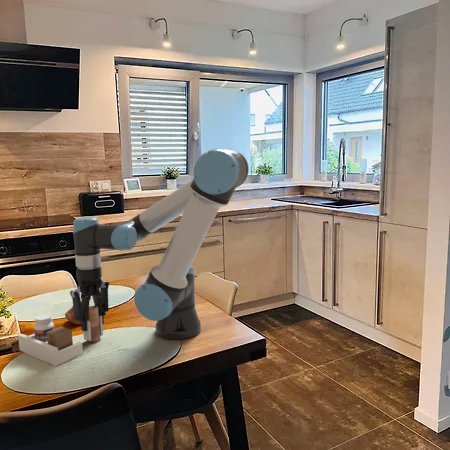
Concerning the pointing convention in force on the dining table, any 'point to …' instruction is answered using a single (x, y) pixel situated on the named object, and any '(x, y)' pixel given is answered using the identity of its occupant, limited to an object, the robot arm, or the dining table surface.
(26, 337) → the white open tray
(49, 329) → the pill bottle
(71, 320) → the fossil
